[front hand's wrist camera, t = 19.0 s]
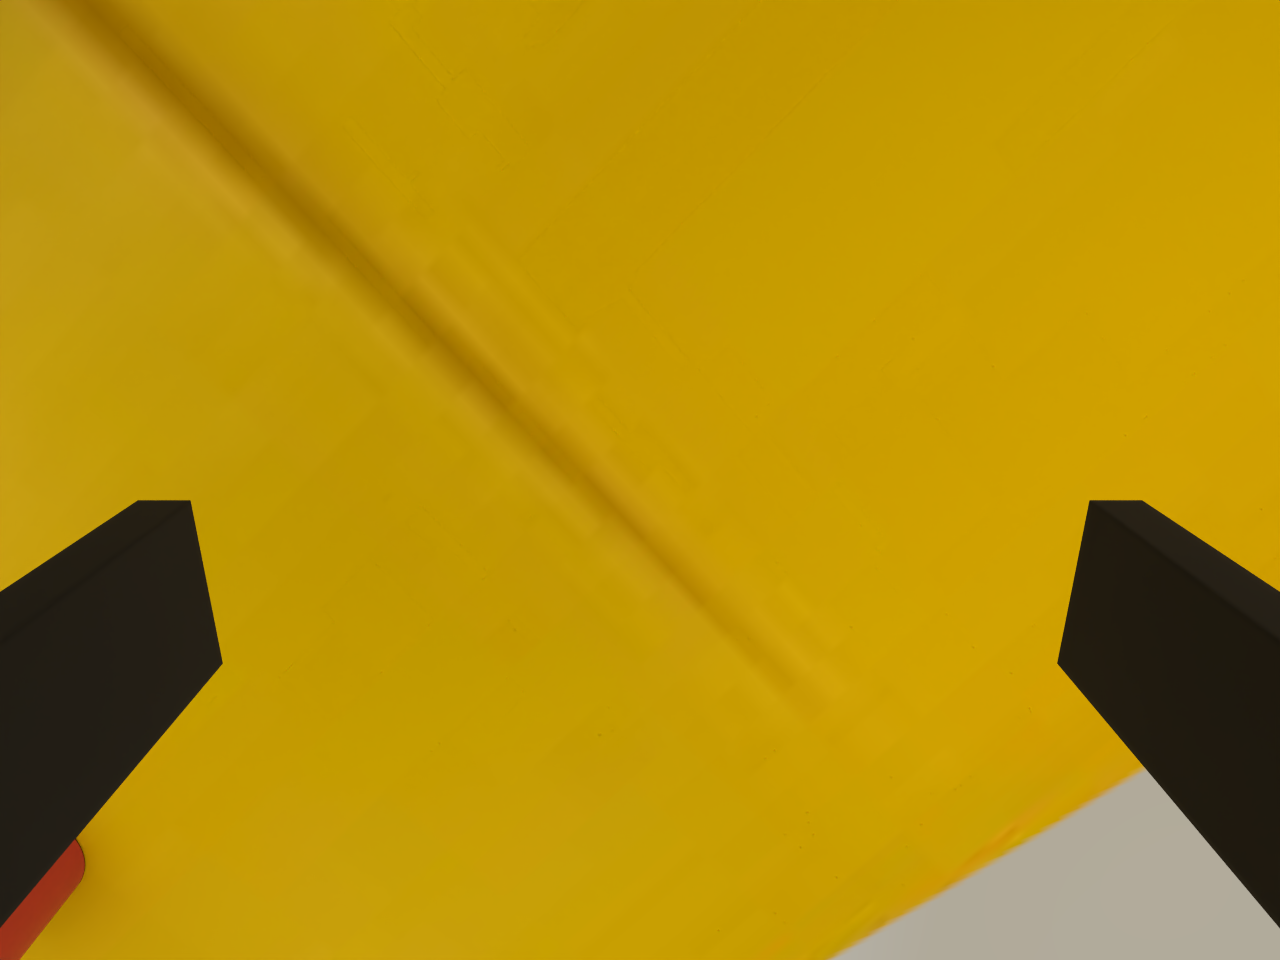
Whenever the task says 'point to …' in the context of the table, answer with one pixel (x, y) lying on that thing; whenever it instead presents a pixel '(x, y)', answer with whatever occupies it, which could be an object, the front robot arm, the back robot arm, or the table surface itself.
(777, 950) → the table surface
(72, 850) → the canister
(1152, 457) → the table surface
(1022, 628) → the table surface
